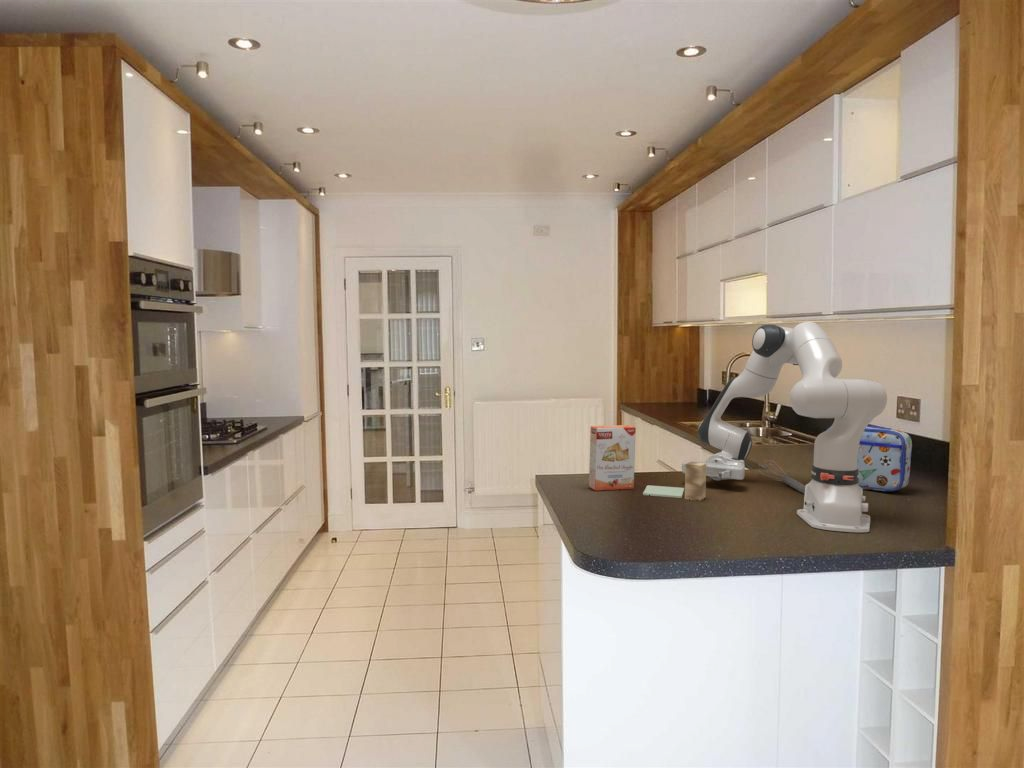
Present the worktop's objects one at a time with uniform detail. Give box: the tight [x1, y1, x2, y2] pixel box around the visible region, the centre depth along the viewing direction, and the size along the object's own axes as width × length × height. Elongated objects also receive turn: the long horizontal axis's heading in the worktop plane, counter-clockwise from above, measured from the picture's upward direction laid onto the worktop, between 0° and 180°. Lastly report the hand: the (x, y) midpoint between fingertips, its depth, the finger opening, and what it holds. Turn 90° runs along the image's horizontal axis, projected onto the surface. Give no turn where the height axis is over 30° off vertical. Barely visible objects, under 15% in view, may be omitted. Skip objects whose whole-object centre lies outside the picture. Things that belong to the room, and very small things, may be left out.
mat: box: [642, 485, 685, 499], centre depth 220 cm, size 12×12×1 cm
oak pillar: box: [684, 462, 707, 502], centre depth 212 cm, size 5×5×11 cm
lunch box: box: [825, 425, 913, 492], centre depth 229 cm, size 28×10×22 cm, turn 43°
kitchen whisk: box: [758, 459, 806, 495], centre depth 233 cm, size 6×34×6 cm, turn 5°
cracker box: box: [588, 424, 637, 492], centre depth 225 cm, size 14×6×21 cm, turn 105°
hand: (706, 473), depth 221 cm, fingers open, 8 cm apart
